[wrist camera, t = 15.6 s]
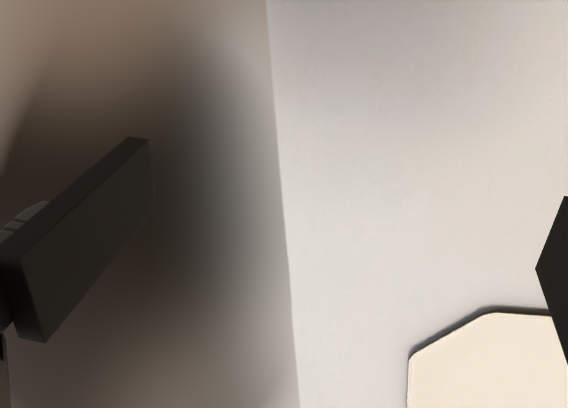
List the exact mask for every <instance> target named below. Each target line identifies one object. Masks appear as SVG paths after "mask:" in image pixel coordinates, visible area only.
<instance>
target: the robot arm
mask: <svg viewBox="0 0 568 408" xmlns="http://www.w3.org/2000/svg"><path fill="white" fill-rule="evenodd" d="M156 208H157V207H156V198H155V190H154V181H153V172H152V163H151V154H150V145H149V139H143V138H136V137H127V138H125V139H124V140H123V141H122V142H121V143H119V144H118V145H117V146H116V147H115V148H113V149H112V150H111V151H110V152H109V153H107V154H106V155H105V156H104V157H103V158H102V159H100V160H99V161H98V162H97V163H95V164H94V165H93V166H92V167H91V168H90V169H88V170H87V171H86V172H85V173H84V174H82V175H81V176H80V177H79V178H78V179H76V180H75V181H74V182H73V183H72V184H71V185H69V186H68V187H67V188H66V189H64V190H63V191H62V192H61V193H60V194H59V195H57V196H56V197H55V198H54V199H52V200H51V201H50V202H49V201H42V202H40V203H37V204H35V205H33V206H31V207H29V208H27V209H25V210H24V211H23V212H21V213H20V214H19V215H18V216H17V217H15V218H14V219H13V221H10V222H9V223H8V224H6V225H5V226H4V227H3V230H1V229H0V408H11V397H10V386H9V373H8V360H7V347H6V340H5V337H4V334H3V331H4V330H5V329H6V328H7V327H8V326H9V325H10V323H11V322H12V321H13V322H14V325H15V328H16V331H17V334H18V337H19V338H23V339H28V340H33V341H38V342H42V343H46V342H47V341H48V339H49V338H50V337H51V336H52V335H53V333H54V332H55V331H56V330H57V329H58V327H59V326H60V325H61V324H62V322H63V321H64V320H65V319H66V318H67V316H68V315H69V314H70V313H71V312H72V310H73V309H74V308H75V307H76V306H77V304H78V303H79V302H80V301H81V299H82V298H83V297H84V296H85V295H86V293H87V292H88V291H89V290H90V289H91V287H92V286H93V285H94V284H95V282H96V281H97V280H98V279H99V277H100V276H101V275H102V274H103V273H104V271H105V270H106V269H107V268H108V267H109V265H110V264H111V263H112V262H113V261H114V259H115V258H116V257H117V256H118V254H119V253H120V252H121V251H122V249H123V248H124V247H125V246H126V245H127V243H128V242H129V241H130V240H131V239H132V237H133V236H134V235H135V234H136V233H137V231H138V230H139V229H140V228H141V227H142V225H143V224H144V223H145V222H146V220H147V219H148V218H149V217H150V215H151V214H152V213H153V212H154V211H155V210H156ZM535 270H536V273H537V276H538V279H539V282H540V285H541V288H542V291H543V294H544V297H545V299H546V302H547V305H548V308H549V311H550V314H551V317H552V320H553V323H554V326H555V329H556V332H557V335H558V338H559V341H560V344H561V347H562V350H563V353H564V356H565V359H566V362H567V365H568V196H564V198H563V200H562V203H561V205H560V208H559V210H558V213H557V215H556V218H555V220H554V223H553V225H552V228H551V230H550V233H549V235H548V238H547V240H546V243H545V245H544V248H543V250H542V253H541V255H540V258H539V260H538V263H537V265H536V268H535Z"/></svg>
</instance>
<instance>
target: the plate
mask: <svg viewBox="0 0 568 408" xmlns="http://www.w3.org/2000/svg"><path fill="white" fill-rule="evenodd" d="M407 408H568V365H567V362H566V359H565V356H564V353H563V350H562V347H561V344H560V341H559V338H558V335H557V332H556V329H555V326H554V323H553V320H552V317H551V315H538V314H524V313H510V312H496V311H495V312H490V313H485V314H482V315H480V316H478V317H476V318H475V319H473V320H471V321H469V322H467V323H466V324H464V325H462V326H460V327H459V328H457V329H455V330H453V331H451V332H450V333H448V334H446V335H444V336H443V337H441V338H439V339H437V340H436V341H434V342H432V343H430V344H428V345H427V346H425V347H423V348H421V349H420V350H418V351H416V352H414V353H413V354H412V356H411V357H410V359H409V367H408V390H407Z"/></svg>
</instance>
